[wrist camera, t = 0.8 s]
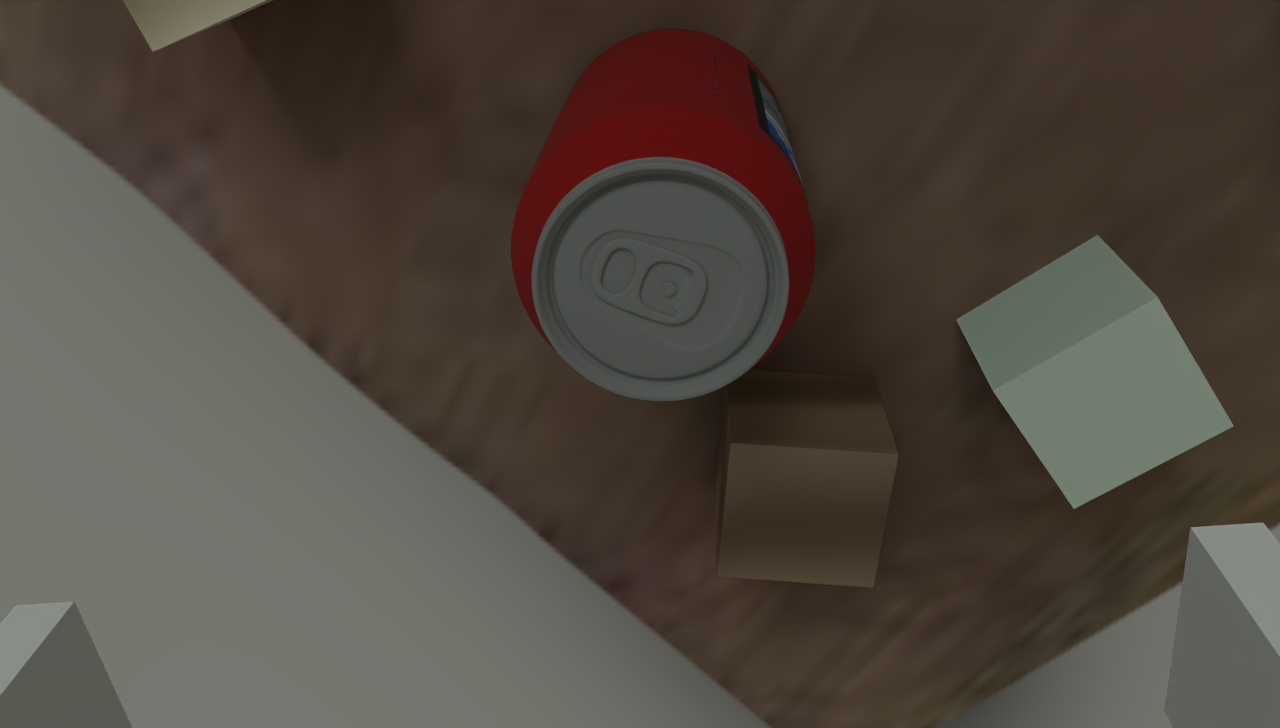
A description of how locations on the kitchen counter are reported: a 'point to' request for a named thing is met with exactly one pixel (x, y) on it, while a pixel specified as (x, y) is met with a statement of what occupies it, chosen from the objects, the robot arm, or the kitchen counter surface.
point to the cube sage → (1092, 372)
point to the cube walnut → (803, 478)
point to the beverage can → (665, 221)
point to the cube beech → (183, 17)
